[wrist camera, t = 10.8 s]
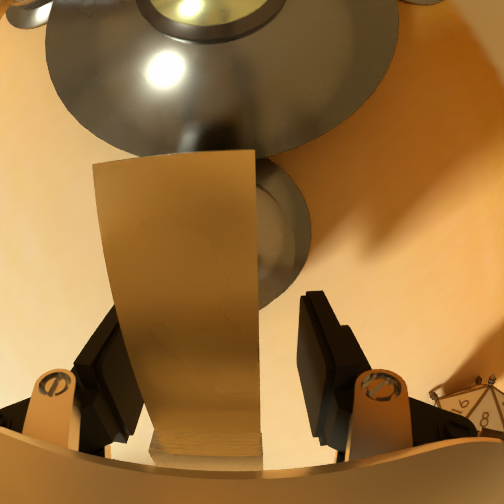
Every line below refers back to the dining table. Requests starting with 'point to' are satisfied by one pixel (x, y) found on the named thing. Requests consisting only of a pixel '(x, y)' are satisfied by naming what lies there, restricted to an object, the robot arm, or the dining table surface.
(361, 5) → the plate
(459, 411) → the game die
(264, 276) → the knob
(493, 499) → the robot arm
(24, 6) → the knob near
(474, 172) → the dining table surface
